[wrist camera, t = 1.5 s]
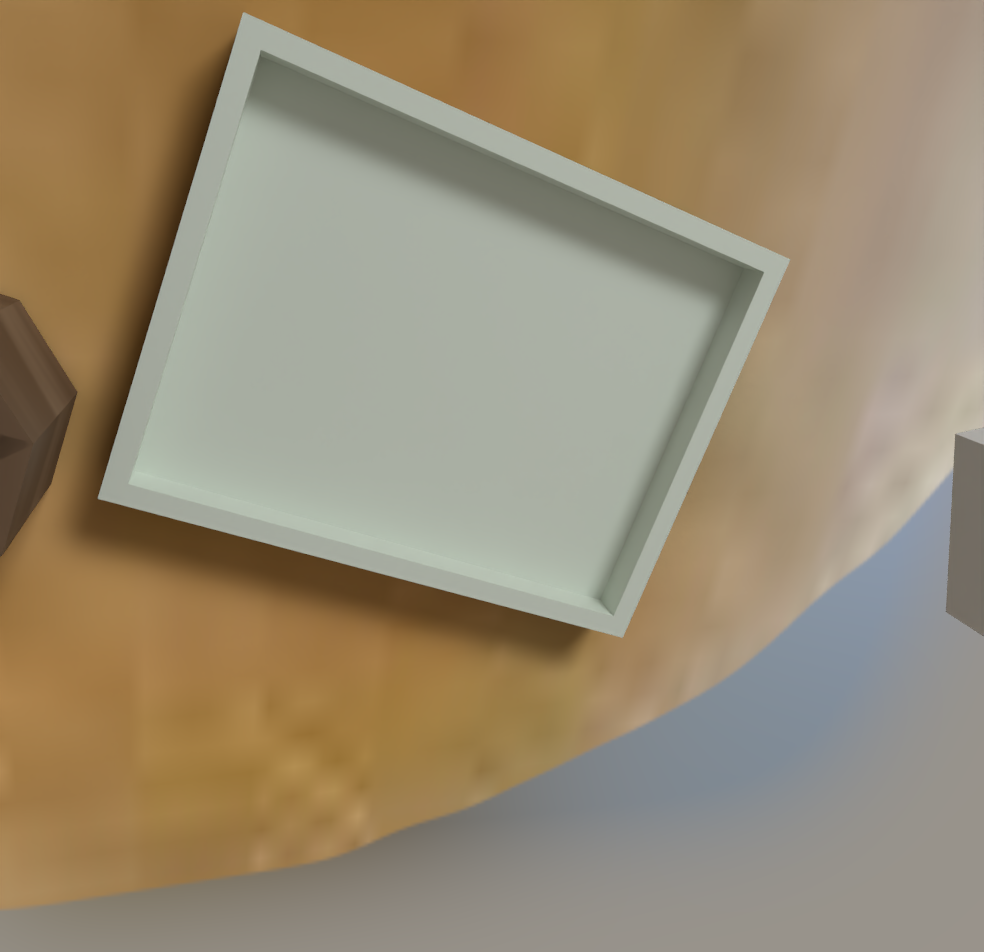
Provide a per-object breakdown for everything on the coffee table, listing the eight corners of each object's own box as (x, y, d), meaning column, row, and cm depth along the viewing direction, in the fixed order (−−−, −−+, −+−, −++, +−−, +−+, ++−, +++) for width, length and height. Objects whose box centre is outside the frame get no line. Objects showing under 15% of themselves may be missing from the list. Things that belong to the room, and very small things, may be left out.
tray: (107, 478, 29) (97, 498, 27) (244, 23, 26) (243, 12, 24) (603, 613, 35) (622, 637, 33) (759, 254, 32) (790, 259, 30)
